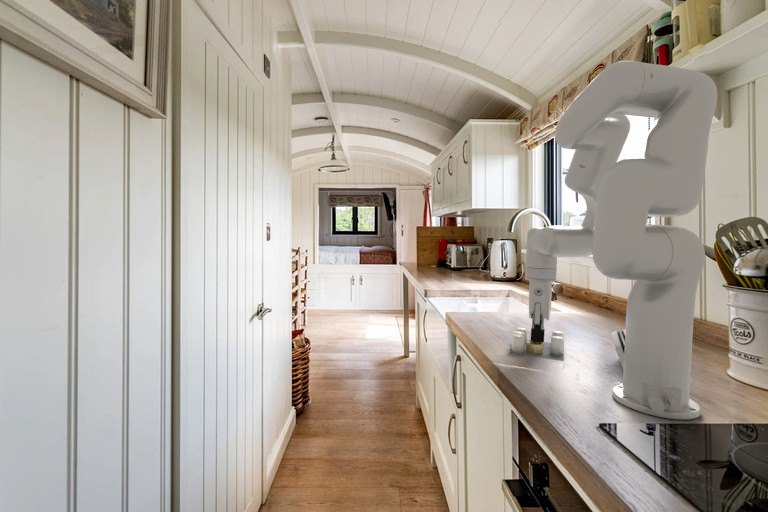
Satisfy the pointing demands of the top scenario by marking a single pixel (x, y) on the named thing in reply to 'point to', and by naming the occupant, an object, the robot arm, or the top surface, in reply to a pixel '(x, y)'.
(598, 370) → the top surface
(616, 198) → the robot arm
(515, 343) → the spacers
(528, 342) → the nut
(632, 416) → the top surface
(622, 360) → the hinge
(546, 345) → the mat
